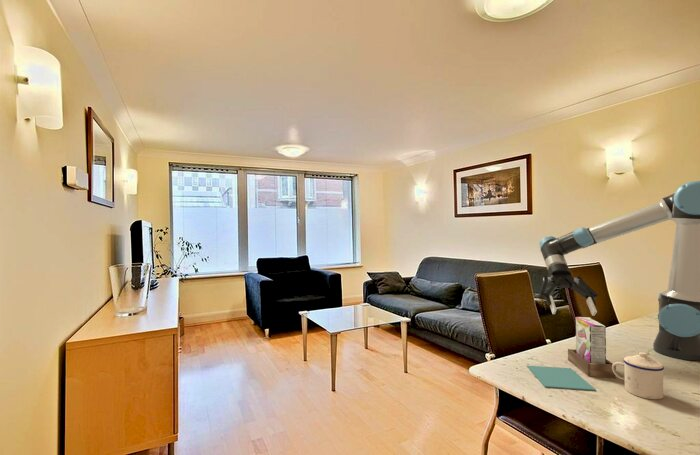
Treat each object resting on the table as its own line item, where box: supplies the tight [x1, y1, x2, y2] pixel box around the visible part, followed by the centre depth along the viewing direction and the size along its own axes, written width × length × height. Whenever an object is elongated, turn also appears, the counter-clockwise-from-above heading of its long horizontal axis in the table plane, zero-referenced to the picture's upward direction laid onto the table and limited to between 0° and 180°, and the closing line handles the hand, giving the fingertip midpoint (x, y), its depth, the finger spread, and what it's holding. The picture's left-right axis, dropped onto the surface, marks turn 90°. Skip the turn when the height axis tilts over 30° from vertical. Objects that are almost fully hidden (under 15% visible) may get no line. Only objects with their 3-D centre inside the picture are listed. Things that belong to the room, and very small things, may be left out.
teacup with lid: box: [612, 351, 665, 400], centre depth 102 cm, size 12×9×12 cm
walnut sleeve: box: [567, 348, 617, 379], centre depth 118 cm, size 8×14×4 cm, turn 170°
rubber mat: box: [526, 365, 597, 392], centre depth 111 cm, size 14×16×1 cm
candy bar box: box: [575, 316, 607, 364], centre depth 118 cm, size 11×5×16 cm, turn 168°
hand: (574, 313), depth 128 cm, fingers open, 13 cm apart
